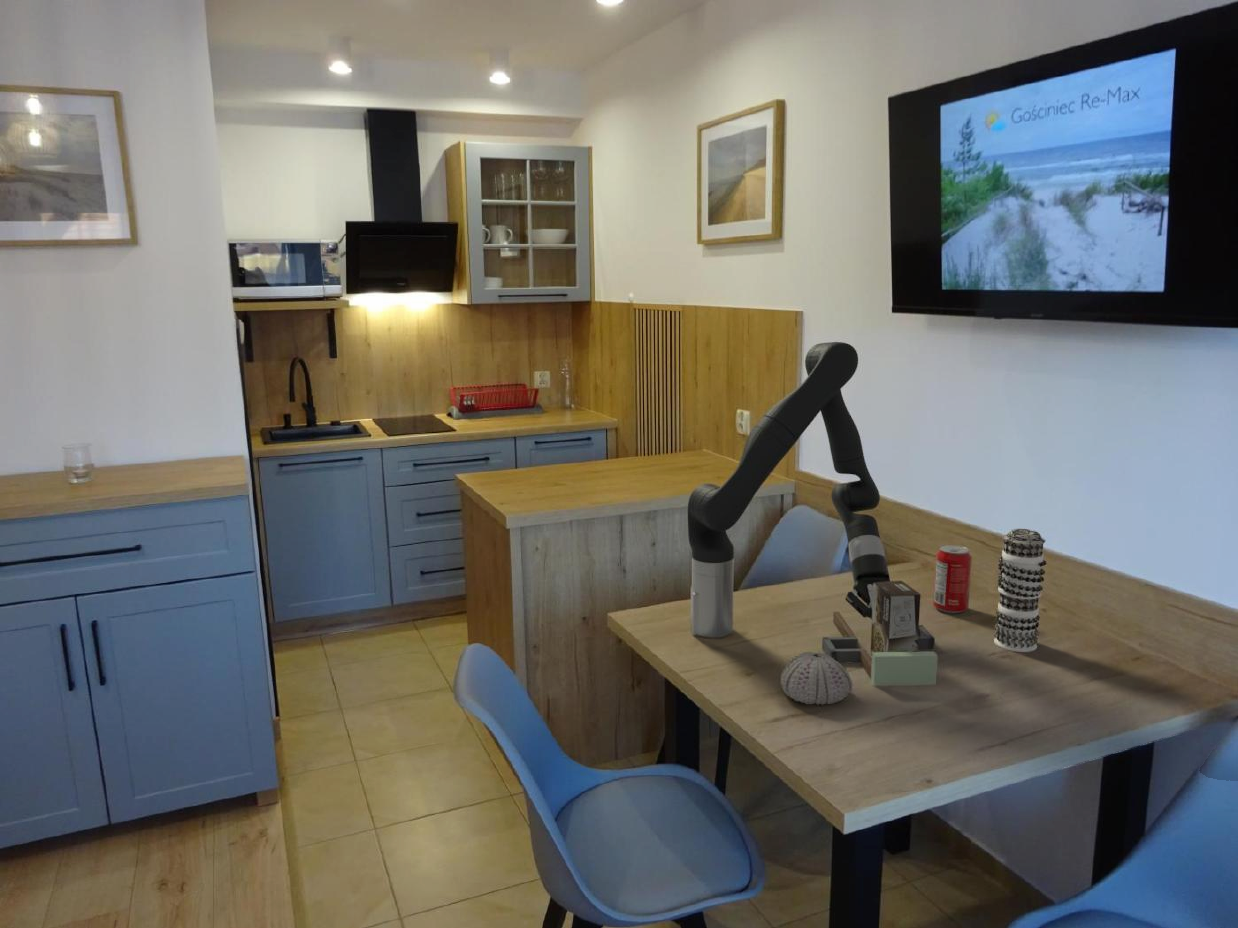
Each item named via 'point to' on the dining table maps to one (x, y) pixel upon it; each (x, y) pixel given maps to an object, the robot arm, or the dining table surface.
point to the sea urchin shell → (815, 679)
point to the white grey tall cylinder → (1019, 590)
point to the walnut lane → (847, 632)
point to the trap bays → (848, 652)
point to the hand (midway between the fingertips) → (882, 634)
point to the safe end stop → (903, 668)
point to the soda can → (952, 579)
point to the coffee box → (894, 617)
